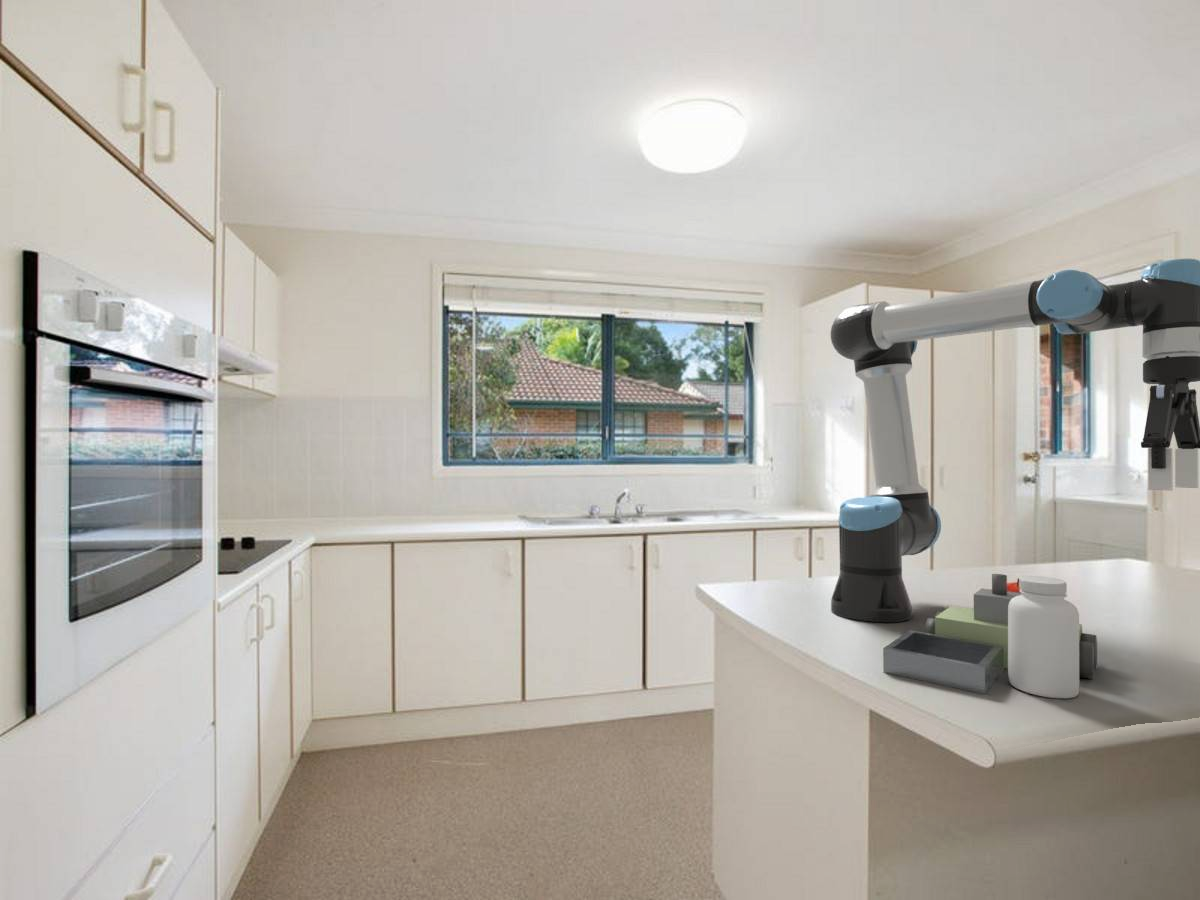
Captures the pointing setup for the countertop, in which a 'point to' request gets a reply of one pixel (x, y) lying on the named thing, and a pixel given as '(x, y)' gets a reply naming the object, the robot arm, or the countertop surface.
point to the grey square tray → (944, 660)
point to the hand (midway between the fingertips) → (1174, 489)
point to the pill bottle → (1043, 639)
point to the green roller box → (998, 624)
